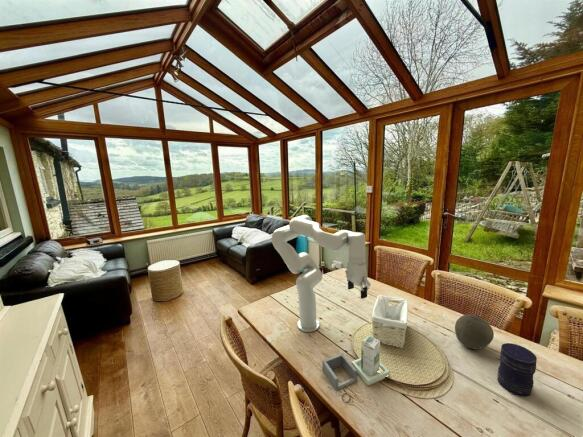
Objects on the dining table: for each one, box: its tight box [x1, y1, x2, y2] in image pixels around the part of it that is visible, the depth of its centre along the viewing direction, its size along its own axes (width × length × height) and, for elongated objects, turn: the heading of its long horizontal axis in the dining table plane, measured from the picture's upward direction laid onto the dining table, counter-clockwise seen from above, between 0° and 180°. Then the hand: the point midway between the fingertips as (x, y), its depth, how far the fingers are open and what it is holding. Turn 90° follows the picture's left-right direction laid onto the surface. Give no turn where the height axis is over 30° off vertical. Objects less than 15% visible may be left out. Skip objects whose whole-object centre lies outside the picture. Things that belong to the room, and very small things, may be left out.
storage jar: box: [497, 342, 538, 398], centre depth 90 cm, size 10×10×15 cm
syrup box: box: [360, 335, 381, 377], centre depth 100 cm, size 6×6×14 cm
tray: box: [351, 357, 390, 387], centre depth 101 cm, size 11×11×2 cm
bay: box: [321, 352, 358, 391], centre depth 100 cm, size 11×10×5 cm
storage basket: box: [371, 294, 409, 349], centre depth 124 cm, size 24×16×15 cm
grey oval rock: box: [454, 313, 495, 350], centre depth 111 cm, size 14×14×15 cm
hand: (357, 293), depth 112 cm, fingers open, 9 cm apart
